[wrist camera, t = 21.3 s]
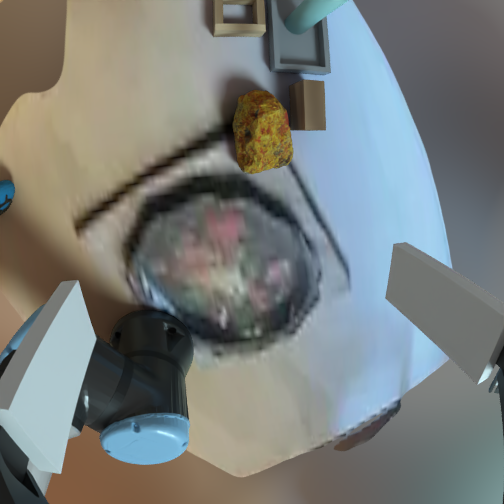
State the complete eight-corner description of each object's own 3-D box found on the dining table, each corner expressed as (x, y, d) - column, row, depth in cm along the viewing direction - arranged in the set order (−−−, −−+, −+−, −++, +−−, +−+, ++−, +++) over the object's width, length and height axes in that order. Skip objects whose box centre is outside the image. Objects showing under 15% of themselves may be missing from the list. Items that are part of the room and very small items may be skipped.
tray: (270, 71, 40) (275, 68, 37) (265, -18, 34) (269, -25, 31) (323, 75, 41) (330, 72, 39) (316, -11, 35) (322, -17, 33)
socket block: (213, 36, 36) (215, 30, 33) (212, -2, 33) (214, -10, 31) (260, 37, 37) (265, 31, 35) (258, 0, 35) (263, -8, 32)
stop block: (290, 130, 44) (305, 129, 38) (289, 85, 41) (303, 79, 35) (309, 130, 44) (325, 130, 39) (307, 87, 41) (324, 81, 36)
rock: (282, 128, 47) (301, 174, 43) (232, 141, 48) (246, 190, 44) (274, 75, 37) (298, 120, 33) (215, 91, 37) (228, 139, 34)
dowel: (285, 33, 37) (323, 0, 24) (283, 14, 36) (320, -24, 23) (307, 35, 38) (351, 6, 25) (306, 16, 36) (348, -18, 24)
